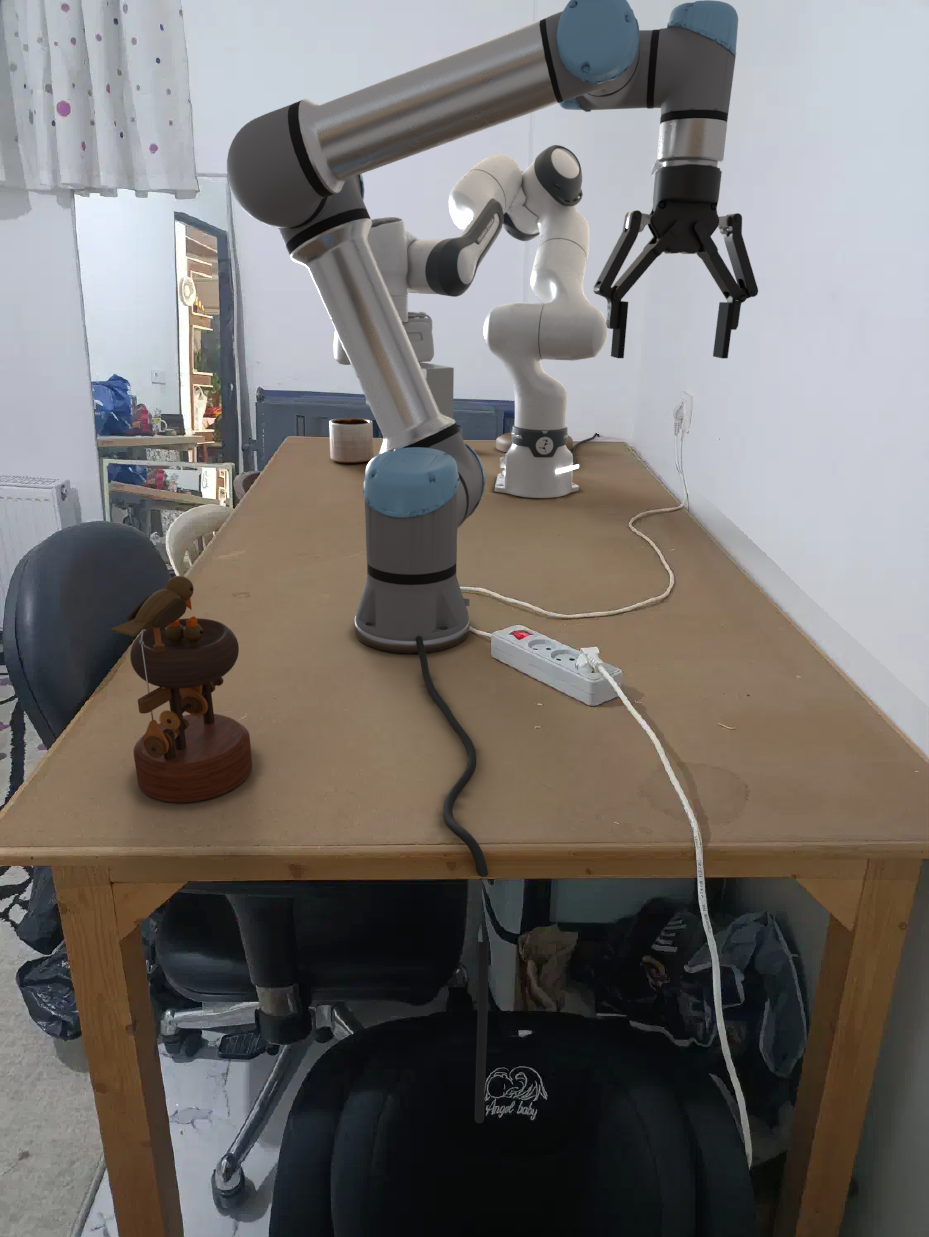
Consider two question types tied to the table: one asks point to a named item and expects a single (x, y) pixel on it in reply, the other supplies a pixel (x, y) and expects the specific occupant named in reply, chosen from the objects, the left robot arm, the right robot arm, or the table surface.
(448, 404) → the bar
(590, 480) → the table surface
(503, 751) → the table surface
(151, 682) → the music box
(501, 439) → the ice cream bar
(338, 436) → the planter
